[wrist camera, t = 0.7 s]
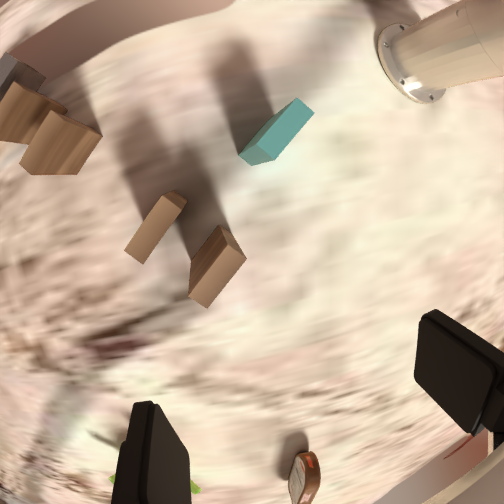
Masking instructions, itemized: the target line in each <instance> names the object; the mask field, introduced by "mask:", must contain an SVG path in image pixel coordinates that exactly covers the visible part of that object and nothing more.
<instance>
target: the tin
mask: <svg viewBox="0 0 504 504" xmlns="http://www.w3.org/2000/svg"><path fill="white" fill-rule="evenodd" d="M320 479H321V474H320V467H319V462H318V459H317V457H316V455H315V454H314V453H313V452H312V451H310V452H306V453H300V454H297V455H296V457H295V460H294V463H293V466H292V469H291V472H290V475H289V481H288V488H289V493H290V496H291V500H292V504H311V502H312V501H313V499H314V497H315V495H316V493H317V491H318V489H319V487H320Z"/></svg>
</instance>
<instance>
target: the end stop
mask: <svg viewBox="0 0 504 504" xmlns="http://www.w3.org/2000/svg"><path fill="white" fill-rule="evenodd" d="M45 79H46V77H44V76H43V75H42V74H40V73H39V72H37V71H36V70H34V69H33V68H31V67H30V66H28V65H26V64H25V63H23V62H22V61H20V60H18V59H17V58H15V57H13V56H12V55H10V54H8V53H7V52H5V54H4V55H3V56H2V58H1V59H0V102H1V101H2V99H3V97H4V96H5V94H6V93H7V91H8V89H9V88H10V86H11V85H12V83H13V82H17V83H19V84H21V85H23V86H25V87H27V88H29V89H31V90H33V91H35V92H37V90H38V89H39V87H40V86H41V84H42V83H43V82H44V80H45Z"/></svg>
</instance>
